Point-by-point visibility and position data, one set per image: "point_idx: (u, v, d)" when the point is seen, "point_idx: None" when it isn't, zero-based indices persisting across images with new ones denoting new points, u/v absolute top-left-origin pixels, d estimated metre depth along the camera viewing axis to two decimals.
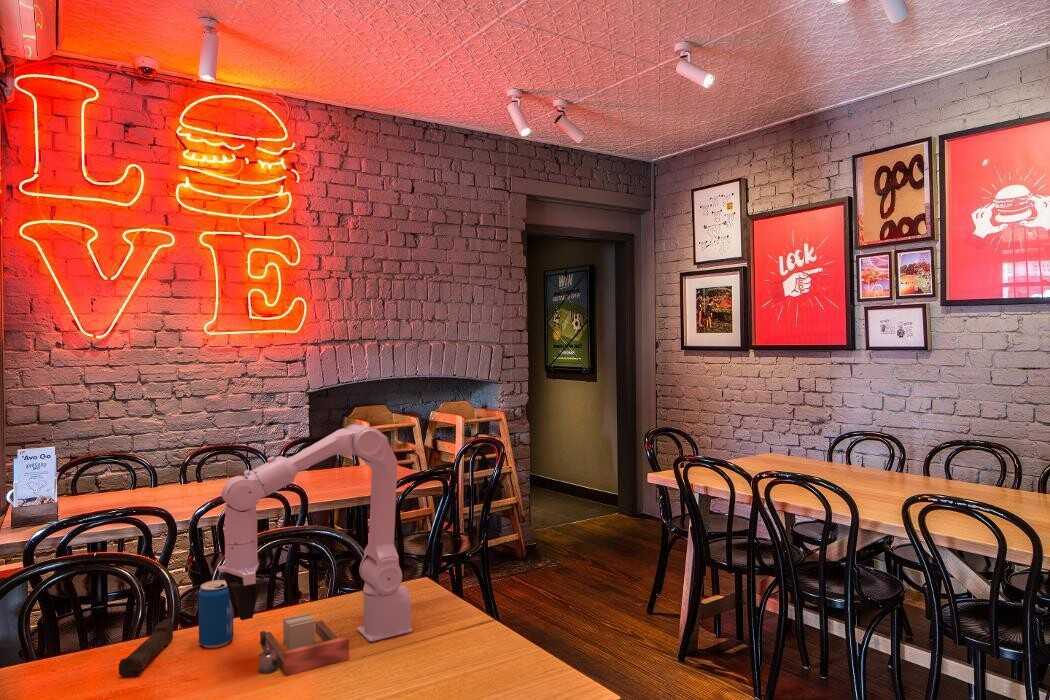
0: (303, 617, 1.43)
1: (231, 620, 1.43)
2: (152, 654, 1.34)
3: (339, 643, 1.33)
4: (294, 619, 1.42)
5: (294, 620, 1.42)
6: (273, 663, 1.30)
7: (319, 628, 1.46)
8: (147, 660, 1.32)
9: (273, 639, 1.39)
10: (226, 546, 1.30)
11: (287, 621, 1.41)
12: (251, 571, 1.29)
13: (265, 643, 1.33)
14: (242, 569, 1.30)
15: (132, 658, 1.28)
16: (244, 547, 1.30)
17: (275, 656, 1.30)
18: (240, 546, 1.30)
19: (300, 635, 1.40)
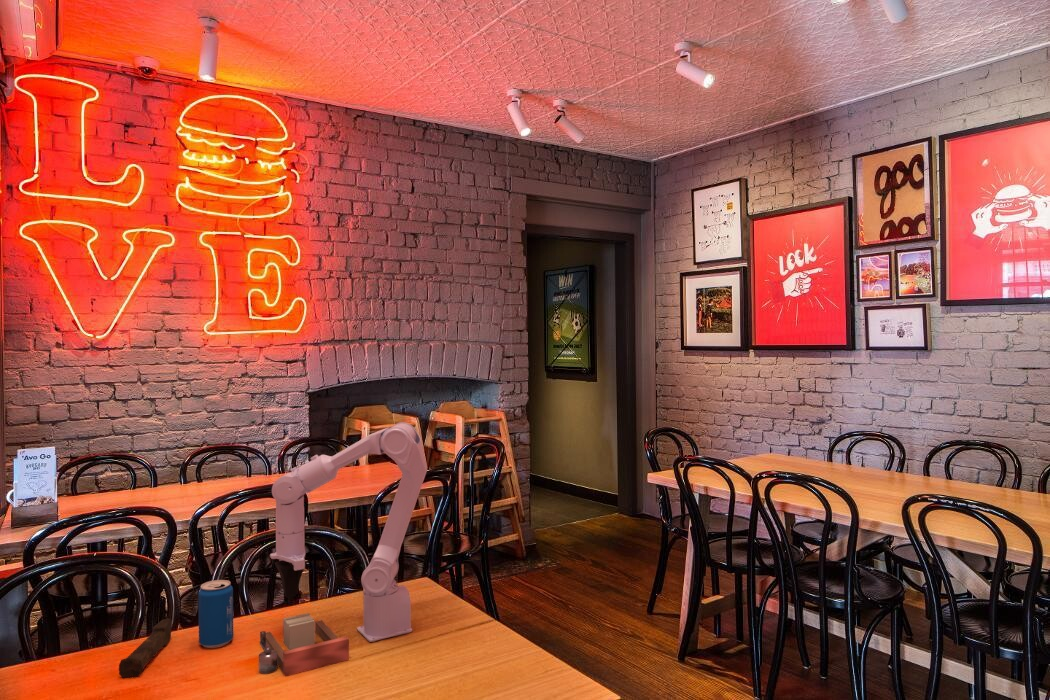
0: (303, 617, 1.43)
1: (231, 620, 1.43)
2: (152, 654, 1.34)
3: (339, 643, 1.33)
4: (294, 619, 1.42)
5: (294, 620, 1.42)
6: (273, 663, 1.30)
7: (319, 628, 1.46)
8: (147, 660, 1.32)
9: (273, 639, 1.39)
10: (277, 535, 1.45)
11: (287, 621, 1.41)
12: (300, 558, 1.43)
13: (265, 643, 1.33)
14: (292, 556, 1.44)
15: (133, 658, 1.28)
16: (294, 536, 1.45)
17: (275, 656, 1.30)
18: (290, 535, 1.44)
19: (300, 635, 1.40)
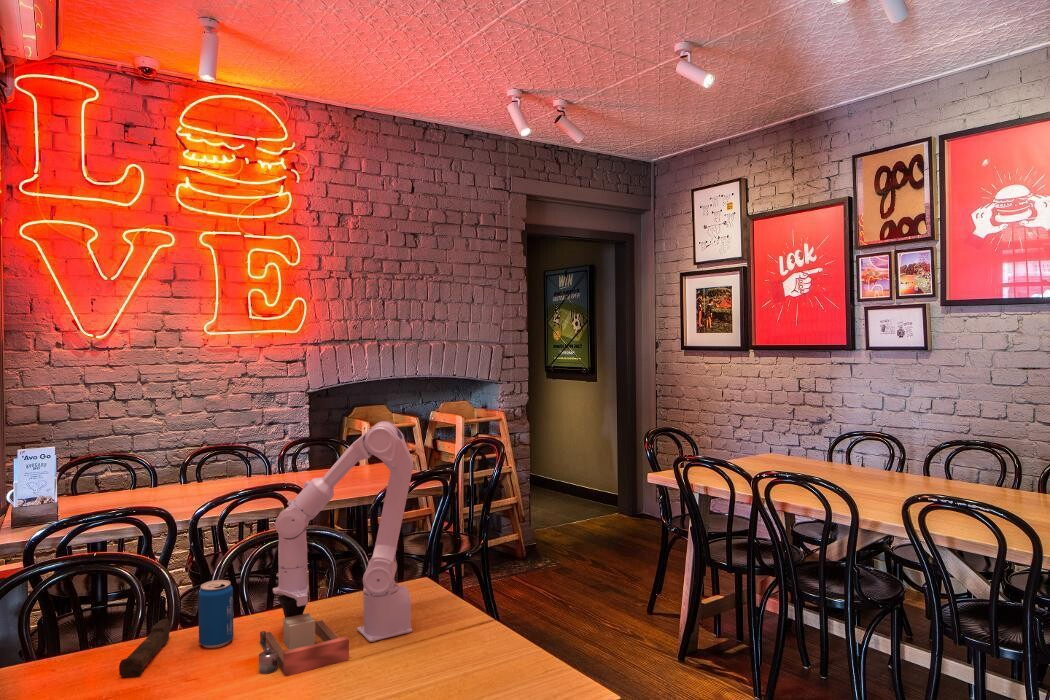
0: (303, 617, 1.43)
1: (231, 620, 1.43)
2: (151, 654, 1.34)
3: (339, 643, 1.33)
4: (294, 619, 1.42)
5: (294, 620, 1.42)
6: (273, 663, 1.30)
7: (319, 628, 1.46)
8: (147, 660, 1.32)
9: (273, 639, 1.39)
10: (280, 570, 1.43)
11: (287, 621, 1.41)
12: (303, 593, 1.42)
13: (265, 643, 1.33)
14: (294, 591, 1.43)
15: (133, 659, 1.28)
16: (296, 571, 1.43)
17: (275, 656, 1.30)
18: (293, 570, 1.43)
19: (300, 635, 1.40)
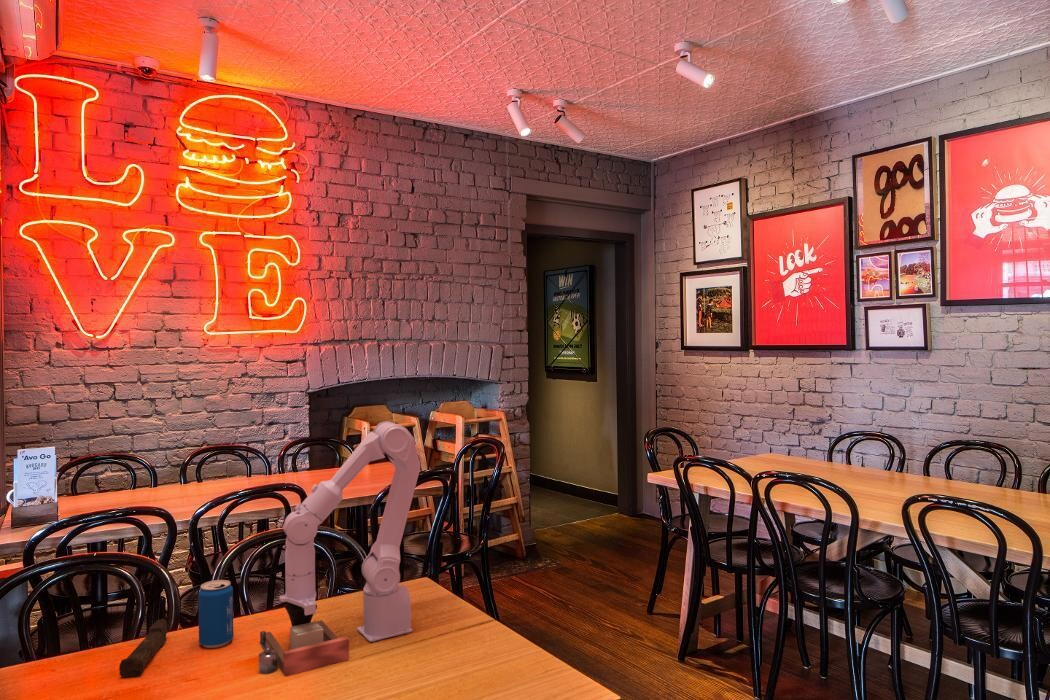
0: (311, 625, 1.38)
1: (231, 620, 1.43)
2: (151, 654, 1.34)
3: (339, 643, 1.33)
4: (302, 628, 1.37)
5: (302, 629, 1.37)
6: (273, 663, 1.30)
7: None
8: (147, 660, 1.32)
9: (273, 639, 1.39)
10: (287, 577, 1.39)
11: (294, 630, 1.36)
12: (311, 601, 1.37)
13: (265, 643, 1.33)
14: (302, 599, 1.38)
15: (134, 658, 1.28)
16: (304, 578, 1.38)
17: (275, 656, 1.30)
18: (300, 577, 1.38)
19: (308, 644, 1.35)
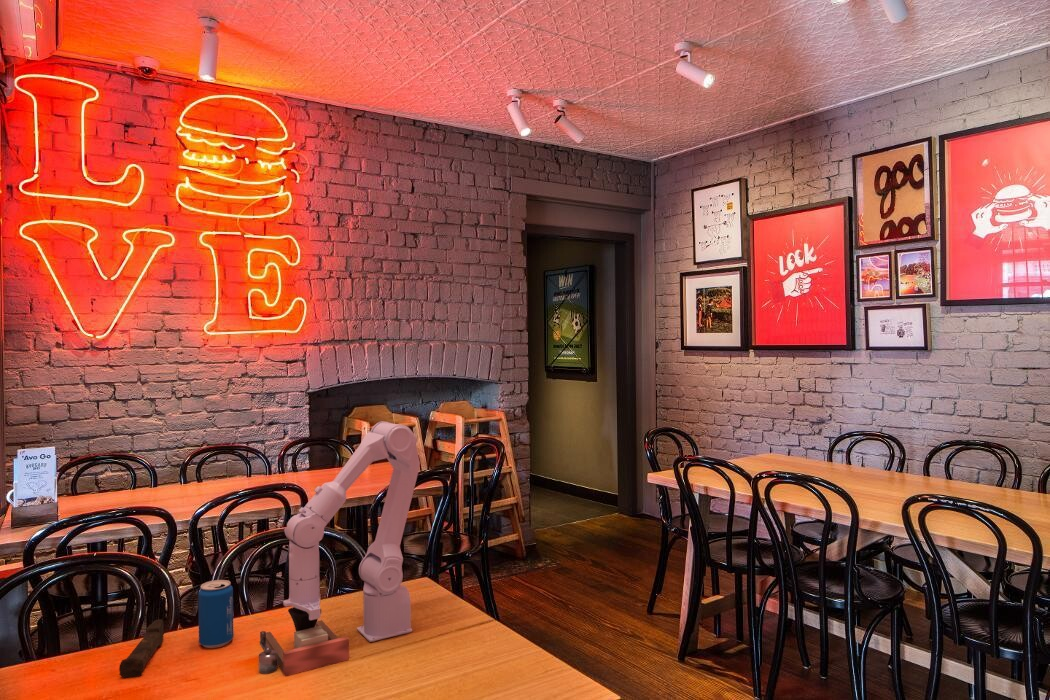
0: (315, 630, 1.36)
1: (231, 620, 1.43)
2: (150, 654, 1.34)
3: (339, 643, 1.33)
4: (306, 633, 1.35)
5: (306, 634, 1.34)
6: (273, 663, 1.30)
7: None
8: (146, 660, 1.32)
9: (273, 639, 1.39)
10: (291, 581, 1.36)
11: (299, 635, 1.34)
12: (315, 606, 1.35)
13: (265, 643, 1.33)
14: (306, 604, 1.35)
15: (134, 658, 1.28)
16: (308, 582, 1.36)
17: (275, 656, 1.30)
18: (304, 581, 1.36)
19: None
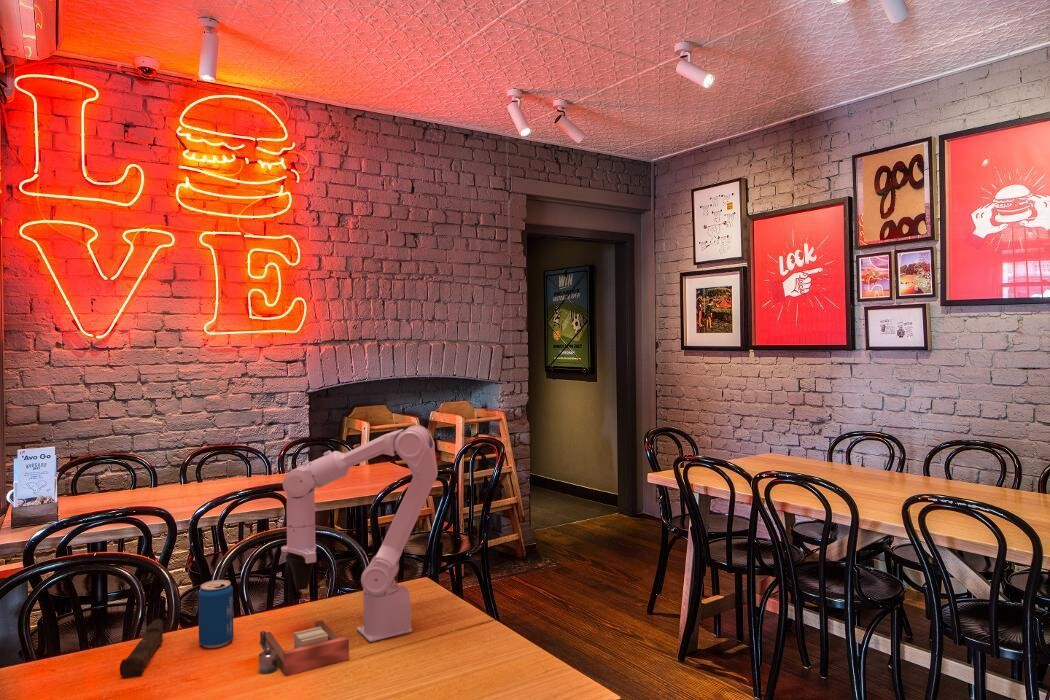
0: (315, 631, 1.36)
1: (231, 620, 1.43)
2: (150, 654, 1.34)
3: (339, 643, 1.33)
4: (306, 633, 1.35)
5: (306, 634, 1.34)
6: (273, 663, 1.30)
7: None
8: (146, 660, 1.32)
9: (273, 639, 1.39)
10: (288, 529, 1.45)
11: (299, 635, 1.34)
12: (311, 551, 1.44)
13: (265, 643, 1.33)
14: (303, 549, 1.44)
15: (134, 658, 1.28)
16: (305, 530, 1.45)
17: (275, 656, 1.30)
18: (301, 529, 1.45)
19: None
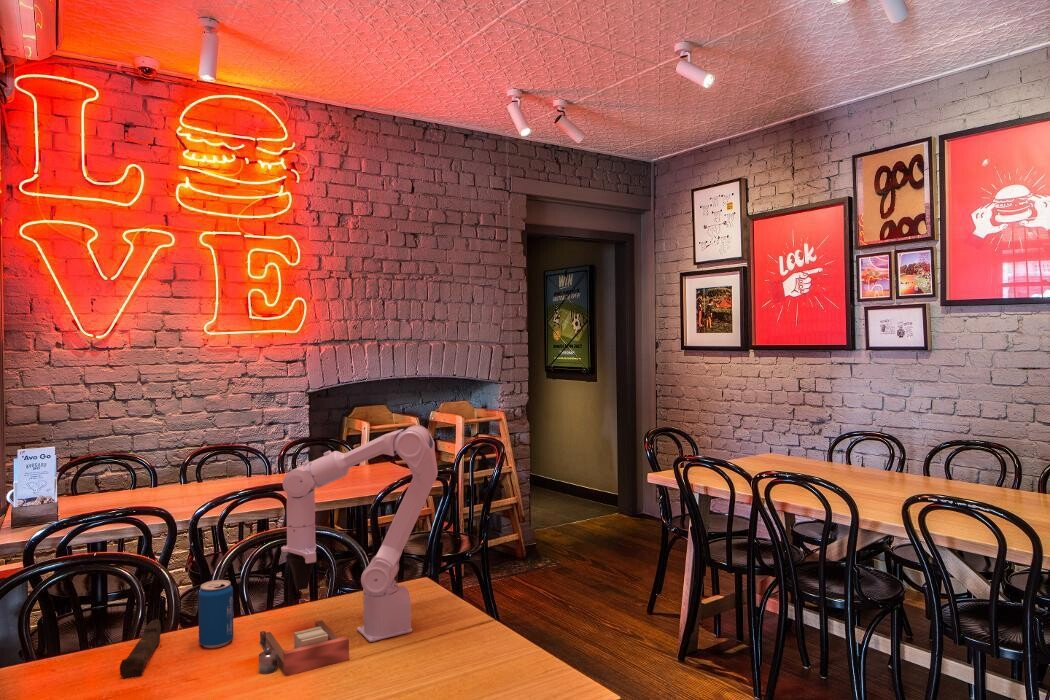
0: (315, 631, 1.36)
1: (231, 620, 1.43)
2: (149, 654, 1.34)
3: (339, 643, 1.33)
4: (306, 633, 1.35)
5: (306, 634, 1.34)
6: (273, 663, 1.30)
7: None
8: (146, 660, 1.32)
9: (273, 639, 1.39)
10: (288, 529, 1.45)
11: (299, 635, 1.34)
12: (311, 551, 1.44)
13: (265, 643, 1.33)
14: (303, 549, 1.44)
15: (135, 658, 1.28)
16: (305, 530, 1.45)
17: (275, 656, 1.30)
18: (301, 529, 1.45)
19: None
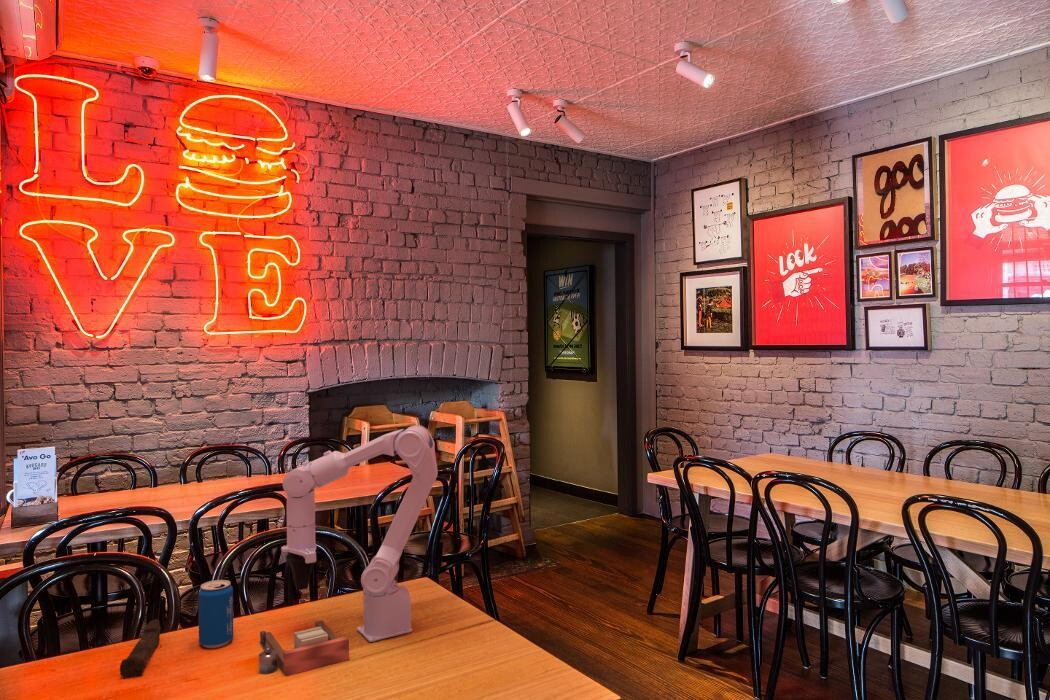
0: (315, 631, 1.36)
1: (231, 620, 1.43)
2: (149, 654, 1.34)
3: (339, 643, 1.33)
4: (306, 633, 1.35)
5: (306, 634, 1.34)
6: (273, 663, 1.30)
7: None
8: (146, 660, 1.32)
9: (273, 639, 1.39)
10: (288, 529, 1.45)
11: (299, 635, 1.34)
12: (311, 551, 1.44)
13: (265, 643, 1.33)
14: (303, 549, 1.44)
15: (135, 658, 1.28)
16: (305, 530, 1.45)
17: (275, 656, 1.30)
18: (301, 529, 1.45)
19: None
